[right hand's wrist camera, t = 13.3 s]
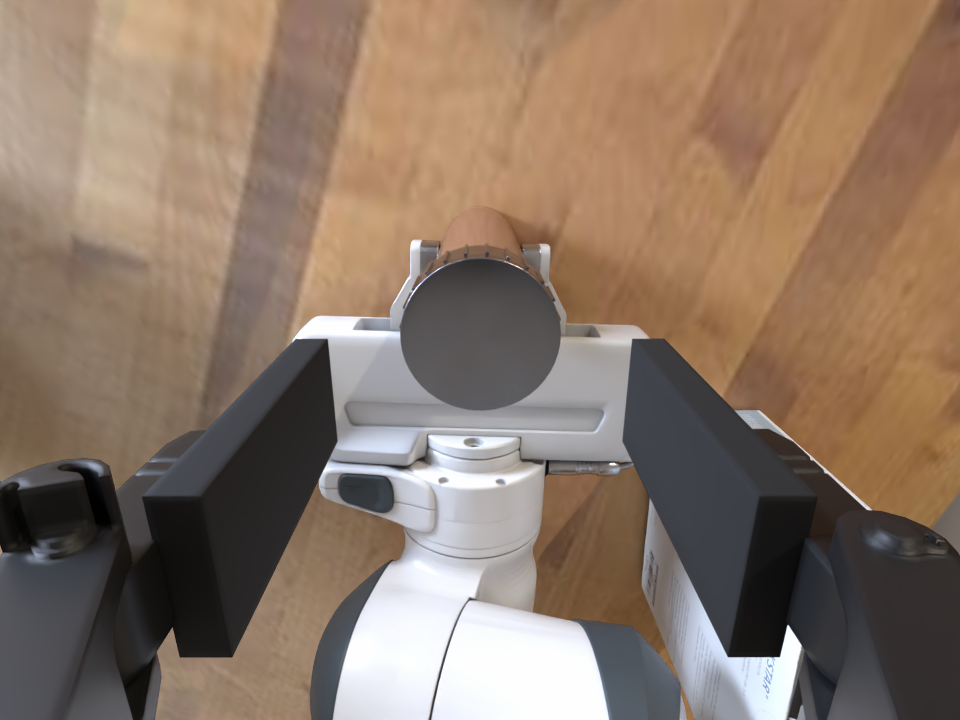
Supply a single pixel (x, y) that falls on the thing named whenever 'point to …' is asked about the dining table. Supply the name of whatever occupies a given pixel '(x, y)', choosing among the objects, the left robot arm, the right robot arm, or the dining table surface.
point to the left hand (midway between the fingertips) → (479, 243)
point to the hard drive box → (695, 645)
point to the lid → (480, 328)
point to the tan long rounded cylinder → (479, 231)
